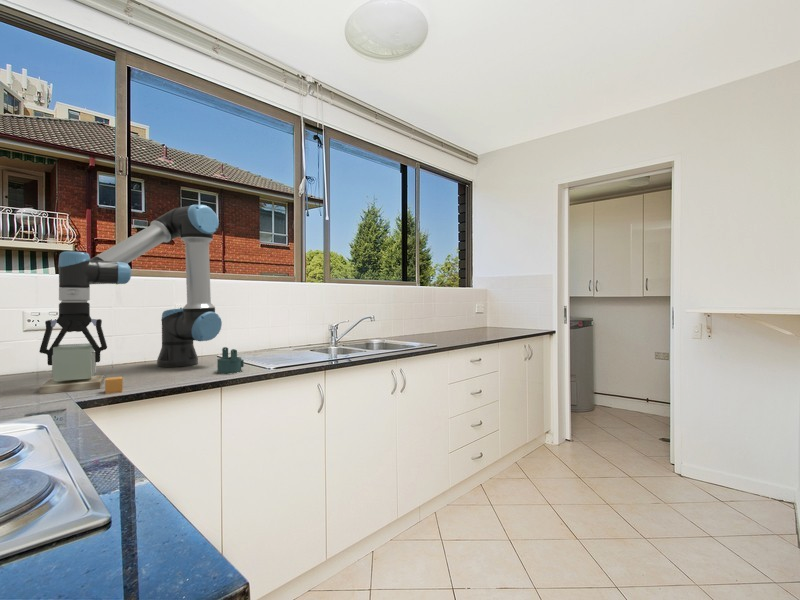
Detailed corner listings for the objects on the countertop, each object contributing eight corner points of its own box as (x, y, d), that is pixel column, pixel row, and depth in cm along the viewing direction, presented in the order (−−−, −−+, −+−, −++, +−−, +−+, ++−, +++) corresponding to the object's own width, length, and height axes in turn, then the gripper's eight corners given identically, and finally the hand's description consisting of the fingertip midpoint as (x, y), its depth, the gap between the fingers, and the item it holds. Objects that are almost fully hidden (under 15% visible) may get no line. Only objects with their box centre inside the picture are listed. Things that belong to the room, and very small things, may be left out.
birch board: (104, 380, 138) (104, 374, 138) (100, 388, 126) (99, 382, 126) (50, 385, 131) (50, 379, 131) (39, 394, 119) (39, 387, 119)
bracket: (234, 374, 150) (234, 349, 150) (211, 373, 152) (211, 349, 152) (247, 370, 159) (247, 347, 159) (225, 369, 161) (225, 346, 161)
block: (122, 389, 125) (122, 376, 125) (121, 392, 121) (122, 378, 121) (106, 391, 123) (106, 377, 123) (105, 393, 119) (105, 380, 119)
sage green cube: (94, 373, 134) (94, 343, 134) (90, 378, 127) (90, 345, 127) (58, 376, 130) (58, 344, 130) (53, 381, 122) (53, 347, 122)
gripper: (24, 301, 119) (25, 379, 120) (116, 301, 131) (116, 372, 131) (31, 301, 126) (31, 375, 126) (117, 301, 137) (117, 369, 137)
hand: (74, 374), depth 128 cm, fingers closed on sage green cube, 9 cm apart
